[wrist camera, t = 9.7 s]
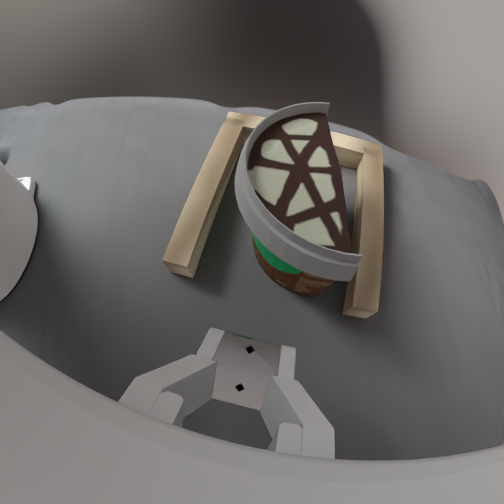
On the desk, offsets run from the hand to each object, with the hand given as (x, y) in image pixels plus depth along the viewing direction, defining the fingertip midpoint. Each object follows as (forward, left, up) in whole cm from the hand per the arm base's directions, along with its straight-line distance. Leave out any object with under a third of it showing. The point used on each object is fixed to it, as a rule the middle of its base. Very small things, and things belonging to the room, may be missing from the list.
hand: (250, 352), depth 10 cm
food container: (0, +10, -11) cm, 15 cm away
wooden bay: (0, +13, -11) cm, 17 cm away
